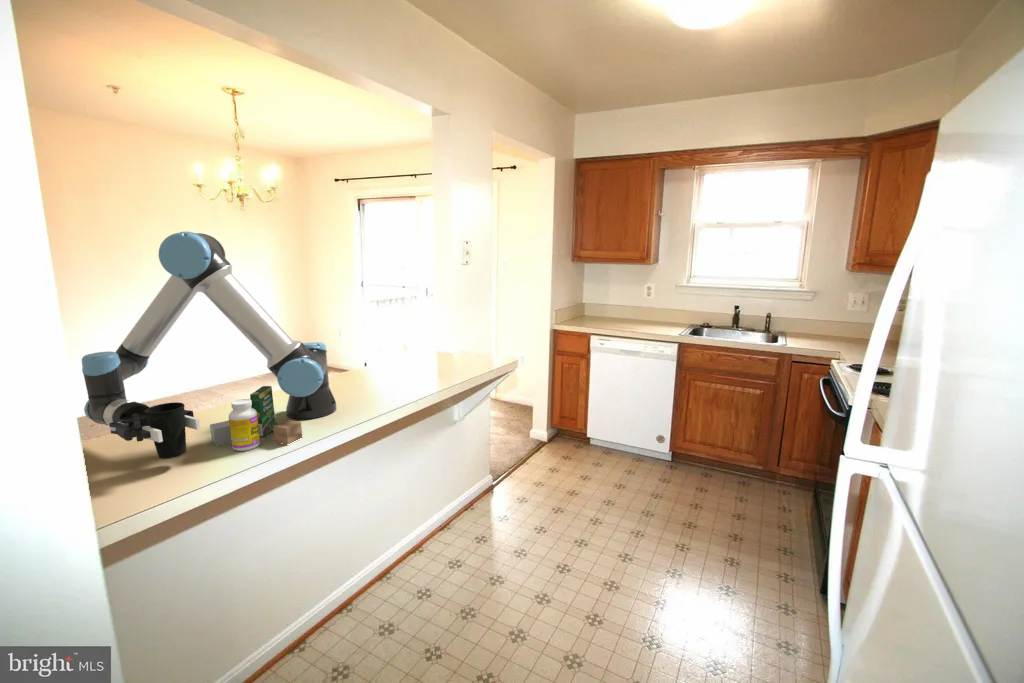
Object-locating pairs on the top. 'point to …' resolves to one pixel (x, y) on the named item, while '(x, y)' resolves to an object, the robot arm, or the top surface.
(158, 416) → the cup
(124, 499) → the top surface
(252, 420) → the supplement bottle
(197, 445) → the top surface
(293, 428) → the walnut block
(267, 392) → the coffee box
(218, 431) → the grey block
